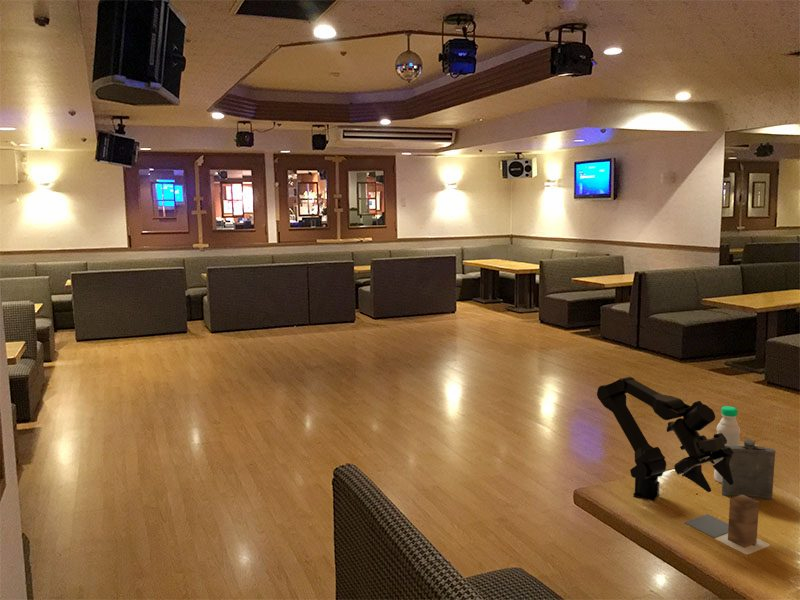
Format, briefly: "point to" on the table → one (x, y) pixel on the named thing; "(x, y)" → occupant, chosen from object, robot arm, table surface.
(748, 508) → the walnut pillar
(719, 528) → the mat
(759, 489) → the flask
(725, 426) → the water bottle
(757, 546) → the tile
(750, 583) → the table surface
